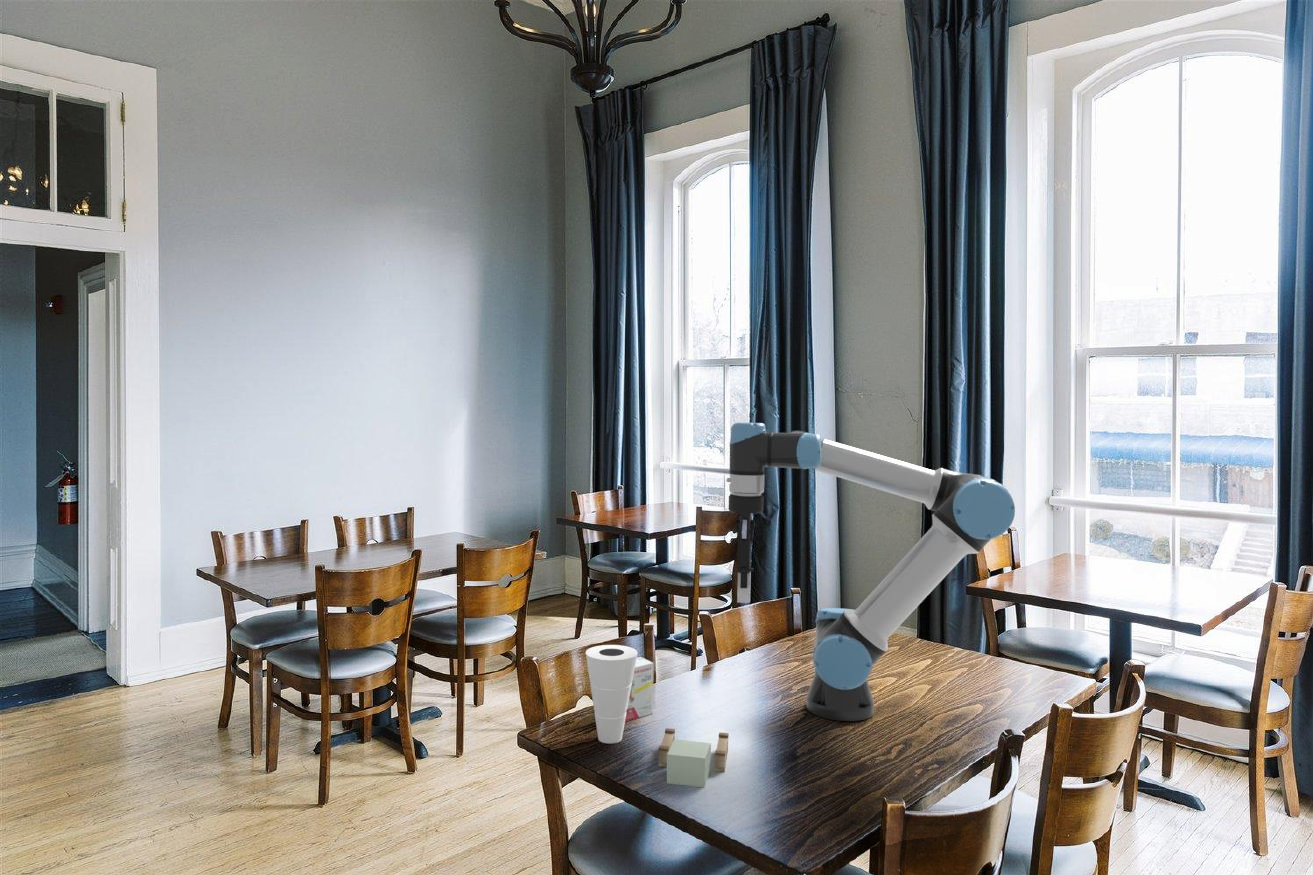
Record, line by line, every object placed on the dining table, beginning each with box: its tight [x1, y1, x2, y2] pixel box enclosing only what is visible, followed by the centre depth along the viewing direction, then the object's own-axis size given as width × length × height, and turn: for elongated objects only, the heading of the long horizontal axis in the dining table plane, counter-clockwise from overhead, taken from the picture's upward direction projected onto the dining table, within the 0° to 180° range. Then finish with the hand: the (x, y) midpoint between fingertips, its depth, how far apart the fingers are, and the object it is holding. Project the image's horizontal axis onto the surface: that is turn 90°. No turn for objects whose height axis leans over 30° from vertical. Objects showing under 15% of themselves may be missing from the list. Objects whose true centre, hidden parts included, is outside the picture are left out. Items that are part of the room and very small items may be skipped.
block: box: [666, 738, 712, 788], centre depth 156 cm, size 7×7×6 cm
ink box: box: [625, 656, 655, 723], centre depth 186 cm, size 9×5×12 cm, turn 130°
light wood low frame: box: [657, 727, 729, 773], centre depth 164 cm, size 13×10×4 cm
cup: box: [585, 644, 639, 745], centre depth 173 cm, size 11×11×18 cm
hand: (743, 601), depth 183 cm, fingers closed
